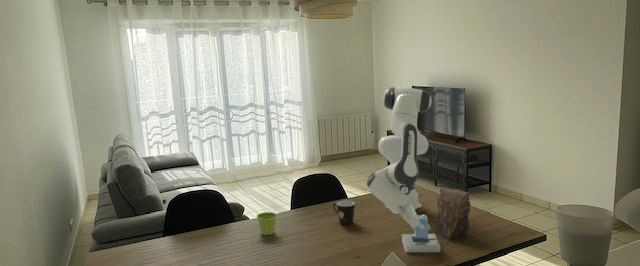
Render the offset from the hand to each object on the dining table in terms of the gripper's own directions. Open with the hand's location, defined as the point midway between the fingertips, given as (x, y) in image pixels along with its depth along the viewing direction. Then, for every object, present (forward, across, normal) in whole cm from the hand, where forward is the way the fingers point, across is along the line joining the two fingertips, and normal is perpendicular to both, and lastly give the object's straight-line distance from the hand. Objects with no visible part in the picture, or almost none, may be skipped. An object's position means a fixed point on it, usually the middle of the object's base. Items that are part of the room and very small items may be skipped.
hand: (422, 225), depth 185 cm
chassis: (+6, 0, +7) cm, 9 cm away
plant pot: (-42, +16, +55) cm, 71 cm away
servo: (+3, 0, +4) cm, 4 cm away
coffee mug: (-17, +29, +30) cm, 45 cm away
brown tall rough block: (+17, +12, -4) cm, 21 cm away
